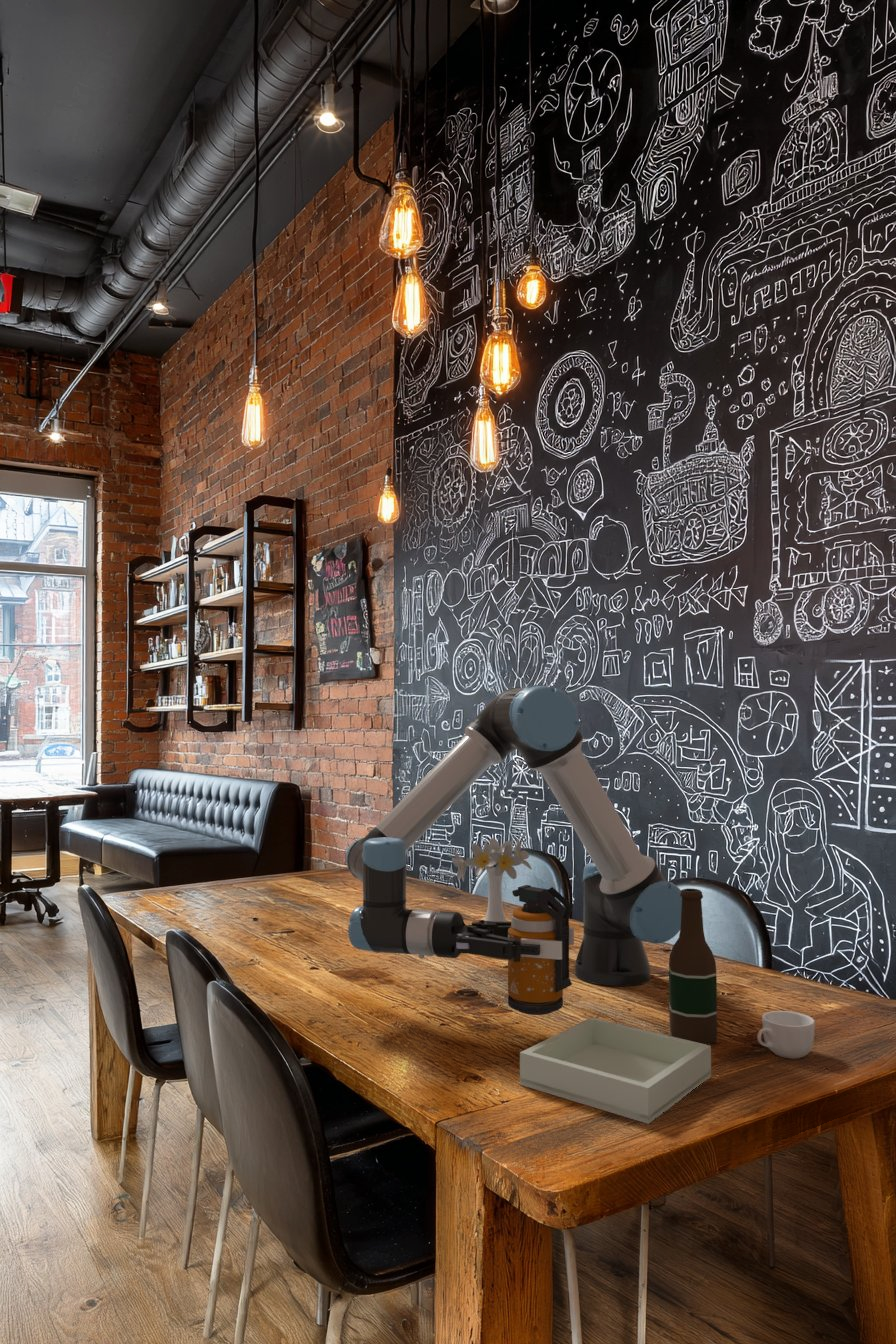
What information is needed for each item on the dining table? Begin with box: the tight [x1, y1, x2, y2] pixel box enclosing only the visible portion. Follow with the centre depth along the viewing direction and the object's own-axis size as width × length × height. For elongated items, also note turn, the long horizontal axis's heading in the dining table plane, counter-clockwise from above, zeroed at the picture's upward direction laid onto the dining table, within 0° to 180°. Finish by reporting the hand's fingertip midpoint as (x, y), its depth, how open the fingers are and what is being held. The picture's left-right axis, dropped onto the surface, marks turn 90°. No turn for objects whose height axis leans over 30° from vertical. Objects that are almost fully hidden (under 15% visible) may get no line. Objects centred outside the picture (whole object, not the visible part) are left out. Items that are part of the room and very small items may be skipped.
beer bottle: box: [668, 888, 718, 1045], centre depth 150 cm, size 8×8×24 cm
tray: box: [519, 1017, 712, 1125], centre depth 132 cm, size 20×20×4 cm
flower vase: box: [451, 837, 533, 922], centre depth 205 cm, size 13×18×25 cm
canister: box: [507, 884, 574, 1016], centre depth 149 cm, size 9×11×20 cm
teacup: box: [757, 1010, 816, 1059], centre depth 142 cm, size 10×8×5 cm
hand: (567, 943), depth 148 cm, fingers closed on canister, 9 cm apart
